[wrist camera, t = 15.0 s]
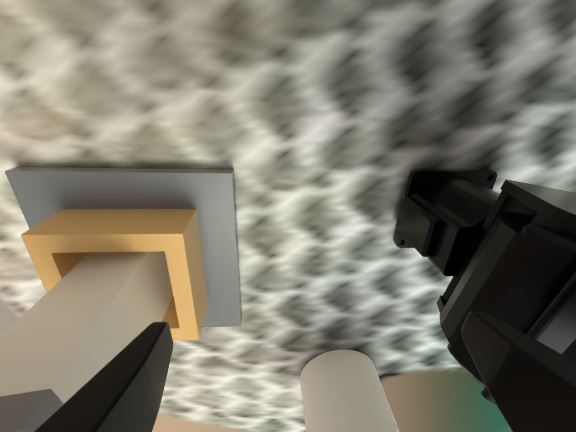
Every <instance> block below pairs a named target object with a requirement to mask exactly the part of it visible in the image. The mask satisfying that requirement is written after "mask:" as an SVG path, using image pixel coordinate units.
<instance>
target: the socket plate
mask: <svg viewBox="0 0 576 432" xmlns="http://www.w3.org/2000/svg"><path fill="white" fill-rule="evenodd" d="M5 173H6V175H7V177H8V180H9V182H10V184H11V187H12V189H13V191H14V194H15V196H16V198H17V201H18V203H19V205H20V208H21V210H22V212H23V214H24V217H25V219H26V221H27V224H28V226H29V228H30V230H28V231H26V232H25V233H23V234H21V237H22V239H23V241H24V243H25V246H26V248H27V250H28V252H29V254H30V257H31V259H32V261H33V263H34V266H35V268H36V270H37V272H38V274H39V277H40V279H41V281H42V283H43V285H44V288H45V290H46V292H47V293H48V292H49V291H50V290H51V289H52V288H53V287H54V286H55V285H56V284H57V283H58V282H59V281H60V280H61V279H62V278H63V277H64V276H65V275H67V274H68V273H69V272H70V271H71V270H72V269H73V268H74V267H75V266H76V265H77V264H78V263H79V262H80V261H81V260H82V259H83V258H84V257H85V256H86V255H87V254H89V253H90V252H158V251H165V255H166V260H167V265H168V271H169V276H170V281H171V286H172V291H173V297H172V300H171V302H170V304H169V306H168V309H167V311H166V313H165V316H164V318H163V320H162V322H168V323H169V326H170V330H171V335H172V340H173V341H179V340H199V338H200V334H201V330H202V327H226V326H241V320H242V313H241V295H240V277H239V259H238V241H237V223H236V205H235V187H234V169H164V168H76V167H16V168H13V169H10V170H7V171H5Z"/></svg>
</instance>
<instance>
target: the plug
mask: <svg viewBox="0 0 576 432" xmlns="http://www.w3.org/2000/svg"><path fill="white" fill-rule="evenodd" d="M172 297H173V291H172V286H171V281H170V276H169V271H168V265H167V260H166V255H165V251H158V252H90V253H89V254H87V255H86V256H85V257H84V258H83V259H82V260H81V261H80V262H79V263H78V264H77V265H76V266H75V267H74V268H73V269H72V270H71V271H70V272H69V273H68V274H67V275H65V276H64V277H63V278H62V279H61V280H60V281H59V282H58V283H57V284H56V285H55V286H54V287H53V288H52V289H51V290H50V291H49V292H48V293H47V294H46V295H45V296H44V297H42V298H41V299H40V300H39V301H38V302H37V303H36V304H35V305H34V306H33V307H32V308H31V309H30V310H29V311H28V312H27V313H26V314H25V315H24V316H23V317H22V318H20V319H19V320H18V321H17V323H15V324H14V325H13V326H12V327H11V328H10V329H9V330H8V331H7V332H6V333H5V334H4V335H3V336H2V337H1V338H0V432H34V431H35V430H36V429H37V428H38V427H39V426H40V425H41V424H42V423H44V422H45V421H46V420H47V419H48V418H49V417H50V416H51V415H52V414H53V413H54V412H55V411H57V410H58V409H59V408H60V407H61V406H62V405H63V404H64V403H65V402H66V401H67V400H68V399H70V398H71V397H72V396H73V395H74V394H75V393H76V392H77V391H78V390H79V389H80V388H81V387H83V386H84V385H85V384H86V383H87V382H88V381H89V380H90V379H91V378H92V377H93V376H94V375H96V374H97V373H98V372H99V371H100V370H101V369H102V368H103V367H104V366H105V365H106V364H107V363H109V362H110V361H111V360H112V359H113V358H114V357H115V356H116V355H117V354H118V353H119V352H120V351H122V350H123V349H124V348H125V347H126V346H127V345H128V344H129V343H130V342H131V341H132V340H133V339H135V338H136V337H137V336H138V335H139V334H140V333H141V332H142V331H143V330H144V329H145V328H146V327H148V326H149V325H150V324H151V323H153V322H162V320H163V318H164V316H165V313H166V311H167V309H168V306H169V304H170V302H171V300H172Z"/></svg>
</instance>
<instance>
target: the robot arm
mask: <svg viewBox="0 0 576 432" xmlns="http://www.w3.org/2000/svg"><path fill="white" fill-rule="evenodd" d="M417 174H419V177H418V178H417V179H415V177H416V175H417ZM489 175H490V176H489ZM488 176H489V178H488V179H487V177H488ZM496 178H497V173H496V172H494V171H492V170H475V169H415V170H413V171H412V172H411V173H410V175H409V180H408V184H407V188H406V192H405V196H404V197H403V199H402V202H401V206H400V211H399V215H398V219H397V224H396V228H397V231H396V235H395V239H394V242H395V244H396V245H397V246H398V247H400V248H415V249H416V250H417V251H418V252H419V253H420V254H421V255H422V256H423V257H428V258H429V260H430V261H431V262H432V263H433V264H434V265H435V266H436V267H437V268H438V269H439V270H440V271H441V272H442V273H443V275H444V276H454V277H453V278H452V280H451V282H450V284H449V285H448V287H447V289H446V291H445V293H444V294H443V296H440V298H439V299H438V301H437V305H438V308H439V311H440V324H441V328H442V330H443V332H444V334H445V336H446V338H447V340H448V341H449V344H448V346H447V348H448V350H449V351H450V353H451V354H452V356H453V357H454V358H455V359H456V360H457V361H458V363H459V364H460V365H461V366H462V367H463V368H464V369H465V370H466V371H467V372H468V373H469V374H470V375H471V376H472V377H474V379H476V380H477V381H478V382H479V383H481V384H482V385H483V386H485V387H484V388H483V389H482V391H481V394H482V395H483V397H485V398H486V399H487V400H489V401H491V402H493V403H495V404H496V405H497V406H498V408H499V410H500V411H501V413H502V415H503V416H504V418H505V420H506V421H507V423H508V424H509V426H510V428H511V430H512V431H513V432H576V193H573V192H568V191H563V190H558V189H553V188H548V187H543V186H537V185H532V184H527V183H522V182H517V181H512V180H505V182H504V183H503V185H502V187H501V190H502V191H501V193H500V194H499V193H497V192H495V191H493V190H492V189H493V186H494V183H495V181H496ZM401 240H403V241H402V242H400V241H401ZM399 242H400V243H399ZM172 350H173V340H172V335H171V330H170V326H169V323H168V322H153V323H151V324H150V325H149V326H148V327H146V328H145V329H144V330H143V331H142V332H141V333H140V334H139V335H138V336H137V337H136V338H135V339H133V340H132V341H131V342H130V343H129V344H128V345H127V346H126V347H125V348H124V349H123V350H122V351H120V352H119V353H118V354H117V355H116V356H115V357H114V358H113V359H112V360H111V361H110V362H109V363H107V364H106V365H105V366H104V367H103V368H102V369H101V370H100V371H99V372H98V373H97V374H96V375H94V376H93V377H92V378H91V379H90V380H89V381H88V382H87V383H86V384H85V385H84V386H83V387H81V388H80V389H79V390H78V391H77V392H76V393H75V394H74V395H73V396H72V397H71V398H70V399H68V400H67V401H66V402H65V403H64V404H63V405H62V406H61V407H60V408H59V409H58V410H57V411H55V412H54V413H53V414H52V415H51V416H50V417H49V418H48V419H47V420H46V421H45V422H44V423H42V424H41V425H40V426H39V427H38V428H37V429H36V430H35V431H34V432H152V430H153V426H154V424H155V420H156V417H157V414H158V411H159V407H160V403H161V399H162V395H163V390H164V386H165V381H166V377H167V373H168V368H169V364H170V359H171V355H172Z"/></svg>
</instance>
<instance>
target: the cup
mask: <svg viewBox="0 0 576 432" xmlns="http://www.w3.org/2000/svg"><path fill="white" fill-rule="evenodd" d="M300 383H301V391H302V400H303V409H304V417H305V426H306V432H399V429H398V427H397V424H396V421H395V419H394V416H393V413H392V411H391V408H390V406H389V403H388V400H387V398H386V395H385V393H384V390H383V387H382V385H381V382H380V380H379V377H378V374H377V372H376V369H375V367H374V364H373V362H372V360H371V359H370V358H369V357H368V356H367V355H365V354H363V353H361V352H358V351H354V350H346V349H343V350H333V351H329V352H326V353H323V354H321V355H318V356H317V357H315V358H313V359H312V360H311V361H309V362H308V363H307V364H306V365H305V367H304V368H303V370H302V372H301V375H300Z"/></svg>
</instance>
